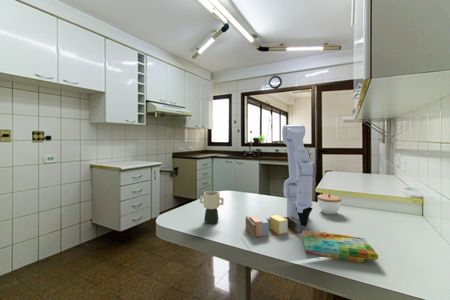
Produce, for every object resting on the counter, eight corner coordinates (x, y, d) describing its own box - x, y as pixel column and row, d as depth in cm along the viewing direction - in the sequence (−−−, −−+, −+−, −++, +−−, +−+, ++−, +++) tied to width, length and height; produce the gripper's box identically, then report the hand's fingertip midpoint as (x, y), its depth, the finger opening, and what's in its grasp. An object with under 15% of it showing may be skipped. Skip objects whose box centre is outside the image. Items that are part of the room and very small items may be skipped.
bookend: (294, 225, 90) (295, 216, 90) (303, 232, 84) (304, 221, 84) (287, 226, 89) (287, 216, 89) (295, 232, 83) (295, 222, 83)
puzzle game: (302, 227, 79) (364, 234, 74) (301, 240, 79) (363, 248, 74) (304, 242, 68) (378, 252, 62) (304, 257, 68) (377, 268, 63)
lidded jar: (312, 210, 113) (313, 192, 112) (329, 208, 116) (329, 190, 116) (328, 217, 103) (328, 197, 102) (345, 214, 106) (346, 195, 106)
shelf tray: (292, 225, 92) (292, 212, 92) (305, 234, 83) (305, 220, 83) (245, 230, 87) (245, 216, 87) (253, 240, 79) (253, 225, 78)
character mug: (225, 220, 98) (225, 191, 97) (221, 226, 91) (221, 195, 90) (202, 217, 101) (202, 190, 100) (196, 223, 94) (196, 193, 93)
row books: (262, 228, 87) (262, 215, 86) (268, 235, 81) (269, 220, 81) (249, 230, 86) (249, 216, 85) (255, 236, 80) (255, 222, 79)
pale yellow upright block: (277, 226, 89) (277, 214, 89) (287, 232, 83) (287, 219, 83) (269, 228, 87) (269, 216, 87) (279, 234, 82) (279, 221, 81)
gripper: (299, 187, 95) (298, 217, 96) (288, 194, 83) (288, 229, 84) (316, 189, 91) (315, 221, 92) (308, 197, 79) (307, 233, 80)
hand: (303, 225), depth 87 cm, fingers closed
